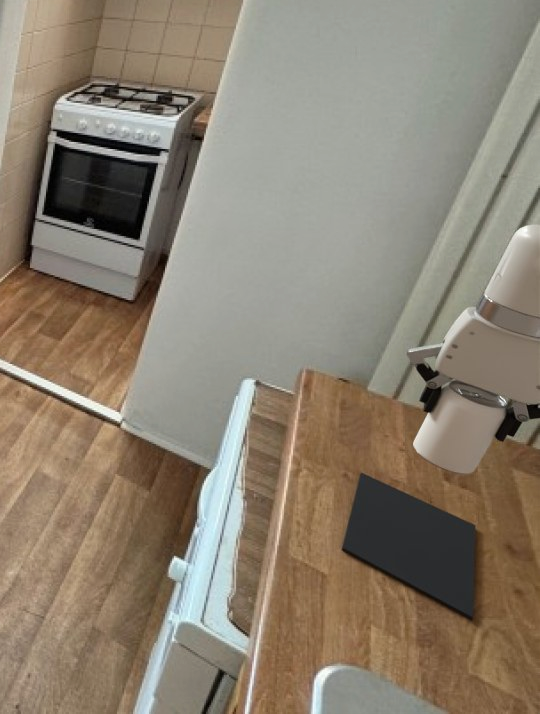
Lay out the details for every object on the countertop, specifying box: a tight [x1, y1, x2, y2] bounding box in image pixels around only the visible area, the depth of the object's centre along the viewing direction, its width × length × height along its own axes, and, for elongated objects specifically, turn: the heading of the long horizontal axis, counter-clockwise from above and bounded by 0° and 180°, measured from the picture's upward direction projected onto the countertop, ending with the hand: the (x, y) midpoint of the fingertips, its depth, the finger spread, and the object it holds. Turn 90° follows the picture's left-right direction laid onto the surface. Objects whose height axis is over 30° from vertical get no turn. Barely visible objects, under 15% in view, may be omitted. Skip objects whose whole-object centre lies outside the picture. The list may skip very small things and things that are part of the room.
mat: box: [341, 472, 476, 621], centre depth 88 cm, size 13×20×1 cm, turn 132°
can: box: [412, 379, 508, 475], centre depth 86 cm, size 6×6×12 cm
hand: (462, 420), depth 86 cm, fingers closed on can, 6 cm apart
